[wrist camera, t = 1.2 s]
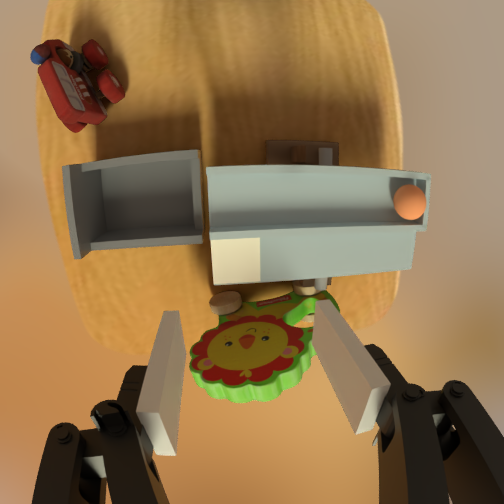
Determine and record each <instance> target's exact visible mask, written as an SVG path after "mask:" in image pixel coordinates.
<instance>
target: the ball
mask: <svg viewBox="0 0 504 504" xmlns="http://www.w3.org/2000/svg"><path fill="white" fill-rule="evenodd" d="M393 203H394V208H395V210H396V212H397V213H398V214H399V215H400V216H401V217H402V218H404V219H408V220H414V219H417V218H419V217H420V216H421V215H422V214H423V213H424V211H425V209H426V197H425V194H424V193H423V191H422V190H421V189H420V188H419V187H417V186H415V185H411V184H407V185H403V186H401V187H400V188H399V189H398V190H397V191H396V193H395V195H394V199H393Z"/></svg>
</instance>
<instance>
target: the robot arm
mask: <svg viewBox="0 0 504 504" xmlns="http://www.w3.org/2000/svg"><path fill="white" fill-rule="evenodd" d="M312 346H313V348H314V350H315V352H316V354H317V356H318V358H319V360H320V362H321V364H322V366H323V368H324V370H325V372H326V374H327V376H328V378H329V380H330V383H331V385H332V387H333V389H334V391H335V393H336V395H337V397H338V399H339V401H340V403H341V406H342V408H343V410H344V412H345V414H346V416H347V418H348V420H349V422H350V424H351V426H352V429H353V431H354V433H355V434H359V433H363V432H366V431H369V430H372V429H373V427H374V424H375V422H377V424H378V426H379V427H380V429H379V431H378V433H377V435H376V437H375V439H374V441H373V446H375V444H376V442H377V440H378V456H379V504H449V496H450V498H451V500H452V503H453V504H504V437H503V435H502V434H501V432H500V431H499V429H498V428H497V426H496V425H495V424H494V422H493V421H492V419H491V418H490V416H489V415H488V413H487V412H486V411H485V409H484V407H483V406H482V405H481V403H480V402H479V401H478V399H477V398H476V396H475V395H474V394H473V392H472V391H471V390H470V388H469V387H468V386H467V385H466V384H465V383H463V382H461V381H457V380H452V381H449V382H447V383H446V384H445V385H444V387H443V389H442V390H440V391H428V392H427V391H425V390H424V389H423V388H422V387H420V386H418V385H416V384H410V383H407V381H406V380H405V379H404V377H403V376H402V375H401V373H400V372H399V371H398V369H397V368H396V367H395V366H394V364H392V362H391V361H390V359H389V358H387V355H386V354H385V353H384V352H383V350H382V349H381V348H379V347H377V346H376V345H374V344H370V345H365V346H364V345H363V344H362V343H361V341H360V340H359V339H358V337H357V336H356V334H355V333H354V332H353V330H352V329H351V328H350V326H349V325H348V324H347V322H346V321H345V319H344V318H343V317H342V315H341V314H340V313H339V311H338V310H337V309H336V307H335V306H334V305H333V303H332V302H331V301H330V299H329V300H319V301H316V304H315V315H314V326H313V336H312ZM185 360H186V350H185V344H184V339H183V333H182V327H181V321H180V315H179V311H164V313H163V316H162V319H161V322H160V325H159V329H158V332H157V335H156V339H155V342H154V346H153V349H152V353H151V356H150V360H149V363H148V366H137V365H136V366H135V365H133V366H132V367H131V368H130V369H129V370H128V371H127V372H126V374H125V377H124V380H123V383H122V385H121V388H120V389H121V390H120V391H119V394H118V398H117V400H105V401H102V402H100V403H98V404H97V405H95V407H94V408H93V410H92V411H91V415H90V417H91V419H92V420H93V422H94V424H95V425H96V427H97V428H95V429H88V430H81V431H79V430H78V428H77V427H76V426H75V425H73V424H71V423H60V424H57V425H55V426H54V427H53V428H52V429H51V430H50V432H49V435H48V438H47V441H46V445H45V448H44V452H43V455H42V459H41V463H40V467H39V471H38V475H37V480H36V484H35V489H34V494H33V500H32V504H105V499H106V484H107V483H108V488H109V492H110V496H111V501H112V504H169V501H168V498H167V496H166V493H165V491H164V488H163V485H162V483H161V480H160V477H159V474H158V471H157V468H156V465H155V462H154V460H153V459H152V453H153V449H154V450H155V452H156V454H157V455H170V456H171V455H172V456H176V453H177V439H178V426H179V415H180V405H181V395H182V386H183V377H184V368H185ZM452 425H454V427H455V429H456V430H454V428H453V427H452ZM448 493H449V495H448Z"/></svg>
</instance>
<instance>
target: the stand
mask: <svg viewBox="0 0 504 504" xmlns="http://www.w3.org/2000/svg"><path fill="white" fill-rule="evenodd" d="M319 148H332V165H333V166H339V143H336V142H320V141H296V140H266V165H275V164H288V165H319ZM331 278H332V277H328V278H327V285H331ZM298 281H299V283H300V284H301V286H302V287H314V285H315V278H314V279H301V280H298Z"/></svg>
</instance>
